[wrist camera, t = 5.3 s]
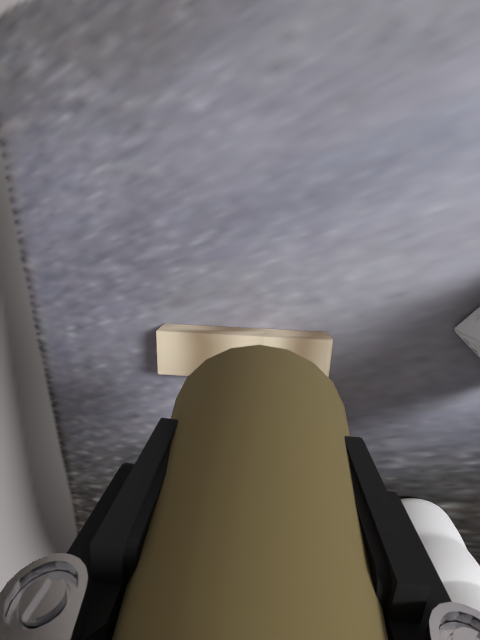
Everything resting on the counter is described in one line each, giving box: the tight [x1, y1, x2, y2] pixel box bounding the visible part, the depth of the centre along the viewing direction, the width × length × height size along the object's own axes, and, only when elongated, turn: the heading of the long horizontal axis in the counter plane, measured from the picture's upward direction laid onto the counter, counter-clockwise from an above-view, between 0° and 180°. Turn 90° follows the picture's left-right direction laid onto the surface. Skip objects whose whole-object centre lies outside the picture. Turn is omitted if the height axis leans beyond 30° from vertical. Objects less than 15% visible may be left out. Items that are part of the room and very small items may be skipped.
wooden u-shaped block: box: [156, 324, 333, 378], centre depth 27 cm, size 13×16×2 cm
